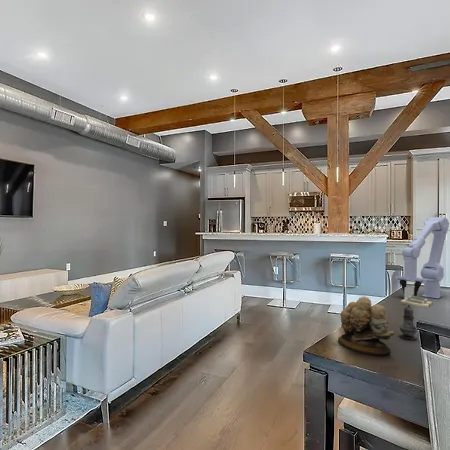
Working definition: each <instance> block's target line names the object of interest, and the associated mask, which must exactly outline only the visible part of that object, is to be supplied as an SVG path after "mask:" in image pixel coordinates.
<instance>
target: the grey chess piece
mask: <svg viewBox="0 0 450 450" xmlns="http://www.w3.org/2000/svg"><path fill="white" fill-rule="evenodd" d="M402 318H403V321H402V322H403V323H402V324H400V325H399V326H398V327H399V330H400V332H401V333H402V334H400V335H399V338H400V339H402V340H406V339H414V338H415V337H416V336H415V335H416V334H417V332H418V330H417V329H418V328H417V327H416V326H415V325H414V319H415V317H414V309H413V307H411V305H409V304H408V305H406V306H405V307H404V308H403V315H402ZM416 328H417V329H416Z"/></svg>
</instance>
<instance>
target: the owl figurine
mask: <svg viewBox="0 0 450 450" xmlns="http://www.w3.org/2000/svg"><path fill="white" fill-rule="evenodd" d="M340 321H341V322H340V323H341V324H340V325H341V328H342V329H343V332H344V333H343V334H342V335H341V336H339V337H338V338H337V342H338V344H339V346H341V347H343V348H346V349H348V350H350V351H352V352H355V353H359V354H363V355H367V356H372V357H373V356H375V357H382V356H387V355H389V354H390V353H391V349H390V346H388V344H386V343H385V342H383V341H382V340H385V341H387V340H390V339H391V337H392V336H394V335H395V332H394V330H388V328H389V322H388V319H387V316H386V308H385V307H384V306H383V305H381V304H377V303H376V304H373V305H372V300H371V299H370V298H369V297H367V296H361V297H359V298H358V299H357V300H356V301H351V302H349V303H348V304H347V306H345V308H344V309H343V310H341V312H340Z"/></svg>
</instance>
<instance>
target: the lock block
mask: <svg viewBox="0 0 450 450" xmlns="http://www.w3.org/2000/svg"><path fill="white" fill-rule="evenodd" d="M414 292H415V287H414V286H411V285H410V286H408V285H406V287H405V290H404V293H403V296H404V297H403V298H404V299H405V298H408V297H409V296H411V297H417V296H414Z"/></svg>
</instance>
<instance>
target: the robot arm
mask: <svg viewBox="0 0 450 450" xmlns="http://www.w3.org/2000/svg"><path fill="white" fill-rule="evenodd" d="M423 224H424V225H423V227H422V229H421V231H420V233H419V234H418V236H414V238H413V239H412V240H411V242H410V243H409V244H408V246H406V247H404V248H403V249H402V252H401V254H402V256H403V261H404V274H403V275H404V276H400V275H396V276H394V277H395V278H394V280H395V281H398V282H399V284H400V286H401V288H402V292H403V294H404V290H405V287H406V286H407V282H413V285H414V286H413V287H415V292H414V296H416V297H417V296H418V291H419V289H420V287H421V285H422V284H423V294H421V297H426V298H432V299H440V298H441V297H443V295H442V294H440V293H441V282H442V280H443V279H444V276H445V274H444V267H443V266H442V265H441V258H442V254H443V249H444V245H445V241H446V235H447V234H448V231H449V226H450V222H449V220H448V218H447V217H445V216H442V217H441V216H440V217H431V216H428V217H427V218H425V221H424V222H423ZM431 233H432V234H433V239H432V244H431V248H430V253H429V258H428V260H427V261H428V262H426V263H424V264H423V266H422V268H421V270H420V276H421V278H420V277H417V274H418V258H419V257H420V255H421V250H422V248H423V247H424V246H425V244H426V239H427V238H428V237H429V236H430V234H431Z"/></svg>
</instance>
